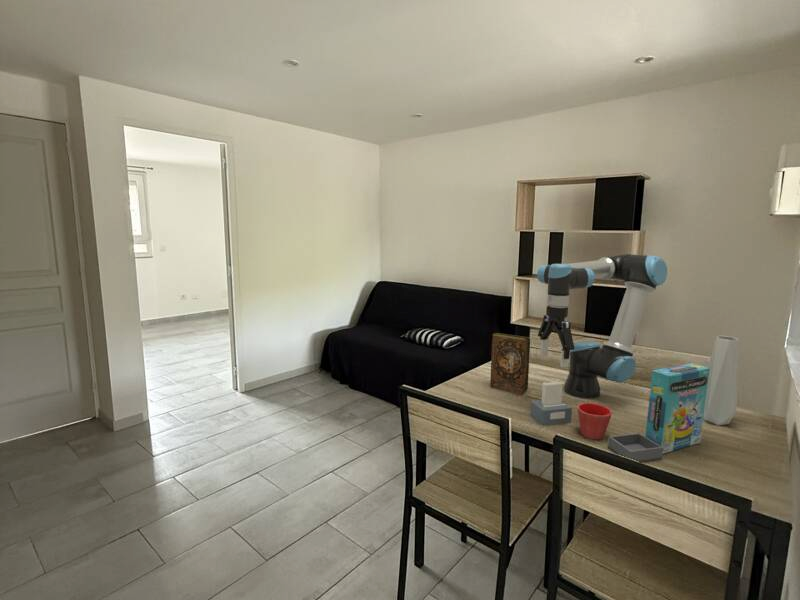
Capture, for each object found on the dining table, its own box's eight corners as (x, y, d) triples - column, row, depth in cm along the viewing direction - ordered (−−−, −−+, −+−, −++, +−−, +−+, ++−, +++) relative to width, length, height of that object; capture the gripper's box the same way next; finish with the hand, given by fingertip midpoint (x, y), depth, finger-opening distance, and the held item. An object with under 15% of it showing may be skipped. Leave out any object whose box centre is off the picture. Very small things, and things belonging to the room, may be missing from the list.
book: (488, 387, 195) (490, 335, 191) (492, 383, 200) (495, 332, 196) (524, 395, 187) (527, 340, 183) (527, 391, 191) (530, 337, 187)
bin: (638, 443, 145) (639, 432, 144) (661, 459, 135) (663, 447, 135) (607, 447, 142) (608, 436, 142) (629, 463, 133) (630, 451, 132)
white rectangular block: (556, 410, 165) (559, 381, 163) (560, 413, 163) (562, 383, 161) (540, 412, 164) (542, 382, 161) (544, 415, 161) (546, 385, 159)
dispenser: (557, 412, 169) (558, 397, 168) (571, 422, 160) (572, 406, 159) (530, 415, 167) (531, 399, 165) (542, 426, 158) (543, 409, 157)
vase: (699, 411, 171) (709, 332, 165) (735, 420, 163) (747, 337, 157) (692, 420, 162) (703, 337, 157) (730, 430, 154) (742, 343, 149)
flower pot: (607, 444, 144) (609, 418, 143) (573, 436, 150) (575, 410, 148) (610, 432, 153) (613, 407, 151) (578, 424, 159) (580, 400, 157)
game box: (661, 455, 138) (670, 376, 133) (643, 446, 143) (651, 370, 139) (701, 443, 146) (711, 367, 141) (682, 434, 151) (691, 362, 147)
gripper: (530, 300, 167) (527, 352, 171) (568, 312, 143) (564, 372, 147) (548, 300, 169) (544, 351, 172) (588, 312, 145) (583, 371, 148)
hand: (553, 361), depth 160 cm, fingers open, 13 cm apart
